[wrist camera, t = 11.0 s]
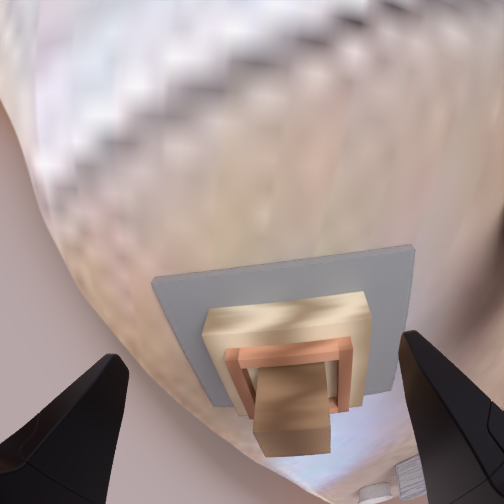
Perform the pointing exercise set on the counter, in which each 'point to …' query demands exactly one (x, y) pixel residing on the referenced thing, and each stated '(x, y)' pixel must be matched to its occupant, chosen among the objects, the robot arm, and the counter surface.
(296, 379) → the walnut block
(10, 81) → the counter surface
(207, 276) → the grey base plate
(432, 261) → the counter surface
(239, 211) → the counter surface
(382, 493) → the ramekin
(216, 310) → the socket plinth
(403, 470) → the medicine box
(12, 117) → the counter surface
